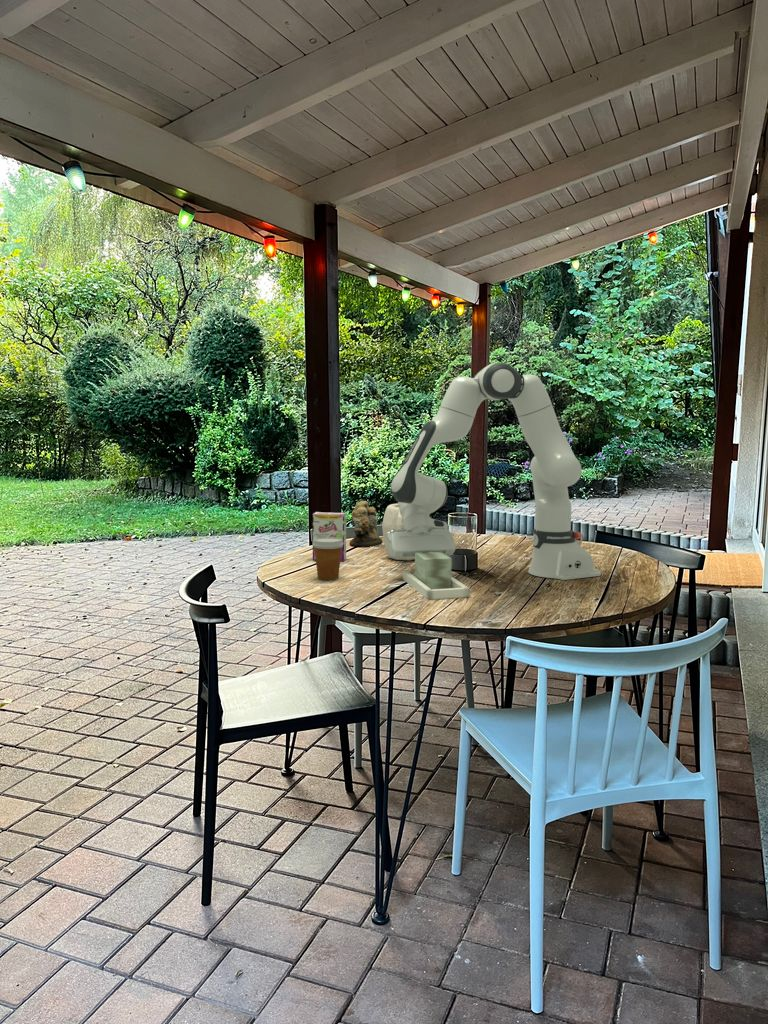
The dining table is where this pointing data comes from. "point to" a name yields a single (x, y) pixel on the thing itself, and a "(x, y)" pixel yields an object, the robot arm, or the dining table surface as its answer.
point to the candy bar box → (330, 528)
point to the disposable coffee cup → (328, 557)
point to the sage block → (433, 569)
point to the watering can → (392, 527)
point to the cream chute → (453, 592)
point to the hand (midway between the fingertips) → (427, 566)
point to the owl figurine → (365, 526)
